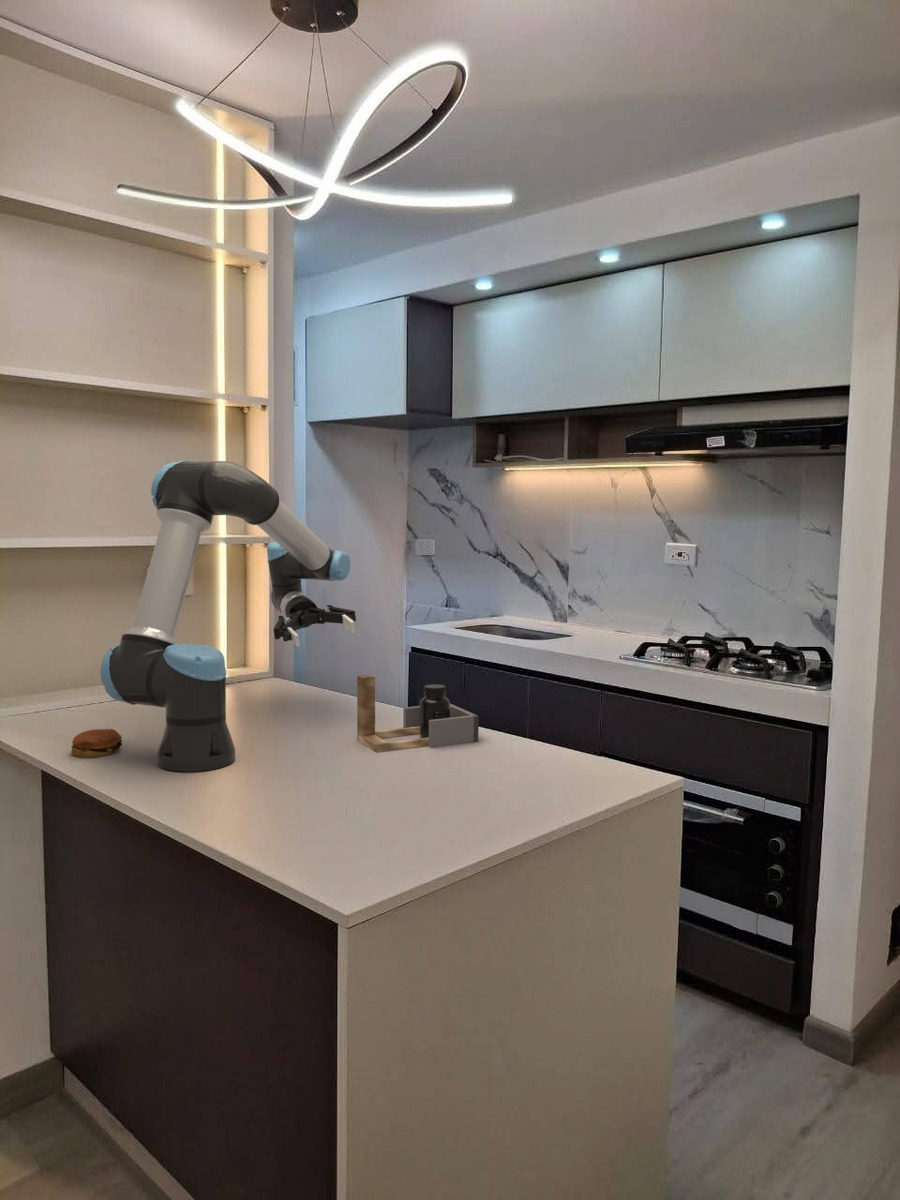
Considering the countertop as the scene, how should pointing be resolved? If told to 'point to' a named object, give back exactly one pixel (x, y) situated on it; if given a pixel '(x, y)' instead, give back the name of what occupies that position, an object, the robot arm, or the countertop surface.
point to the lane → (446, 726)
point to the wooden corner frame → (367, 722)
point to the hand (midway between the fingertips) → (325, 634)
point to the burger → (96, 743)
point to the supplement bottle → (433, 707)
